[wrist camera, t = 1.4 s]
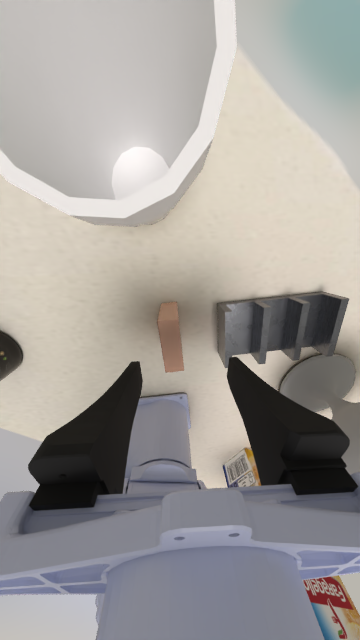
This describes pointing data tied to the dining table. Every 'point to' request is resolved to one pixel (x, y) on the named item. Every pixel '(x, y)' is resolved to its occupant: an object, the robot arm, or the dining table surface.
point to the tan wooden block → (170, 337)
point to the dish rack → (280, 325)
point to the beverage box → (324, 593)
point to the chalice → (328, 396)
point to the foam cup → (111, 101)
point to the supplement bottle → (8, 355)
